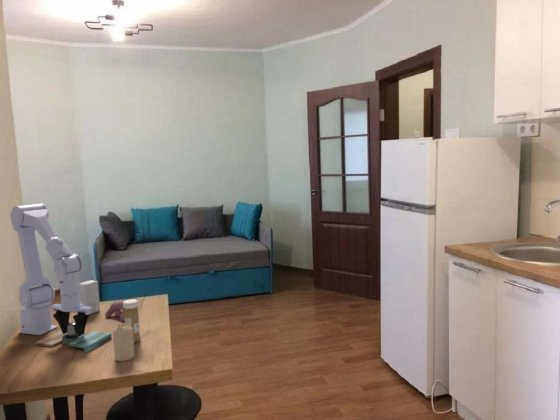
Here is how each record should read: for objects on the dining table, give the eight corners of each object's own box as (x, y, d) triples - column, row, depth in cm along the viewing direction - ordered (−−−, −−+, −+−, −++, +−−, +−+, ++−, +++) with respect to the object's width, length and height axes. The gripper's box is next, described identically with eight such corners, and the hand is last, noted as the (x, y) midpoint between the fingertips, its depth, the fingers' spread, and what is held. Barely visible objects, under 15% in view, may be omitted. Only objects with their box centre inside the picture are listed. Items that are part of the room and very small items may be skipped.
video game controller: (130, 323, 170) (136, 304, 172) (121, 321, 166) (127, 301, 168) (112, 318, 175) (118, 300, 177) (103, 316, 171) (109, 298, 173)
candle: (123, 363, 133) (121, 329, 131) (110, 359, 135) (108, 326, 134) (138, 355, 137) (136, 323, 136) (126, 352, 140) (123, 320, 139)
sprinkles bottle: (142, 341, 148) (139, 301, 146) (127, 345, 145) (125, 304, 144) (138, 337, 151) (135, 297, 150) (124, 340, 149) (121, 300, 147)
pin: (65, 343, 148) (64, 325, 148) (73, 338, 152) (72, 321, 151) (75, 344, 147) (73, 326, 147) (82, 339, 151) (81, 322, 150)
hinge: (35, 344, 148) (34, 338, 147) (61, 332, 158) (61, 326, 158) (88, 351, 141) (87, 345, 141) (111, 338, 151) (111, 332, 151)
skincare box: (93, 309, 182) (90, 279, 180) (100, 311, 179) (98, 280, 178) (79, 314, 176) (76, 283, 175) (86, 315, 174) (84, 284, 173)
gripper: (97, 290, 149) (100, 331, 151) (61, 288, 154) (64, 327, 155) (81, 297, 142) (85, 339, 144) (44, 294, 147) (48, 335, 149)
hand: (73, 333), depth 149 cm, fingers open, 6 cm apart
